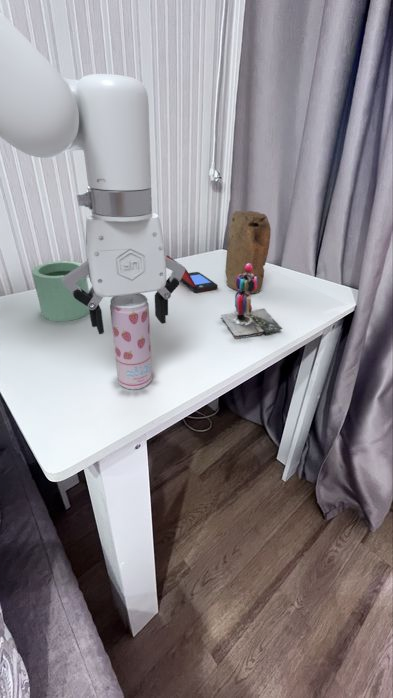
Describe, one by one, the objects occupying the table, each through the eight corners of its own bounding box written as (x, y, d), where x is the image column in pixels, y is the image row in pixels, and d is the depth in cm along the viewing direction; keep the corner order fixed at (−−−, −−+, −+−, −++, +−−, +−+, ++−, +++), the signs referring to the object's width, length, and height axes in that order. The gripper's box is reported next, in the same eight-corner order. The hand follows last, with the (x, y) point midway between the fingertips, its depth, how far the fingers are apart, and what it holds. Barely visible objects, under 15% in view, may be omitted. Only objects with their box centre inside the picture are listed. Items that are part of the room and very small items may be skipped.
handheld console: (219, 289, 91) (221, 263, 87) (183, 295, 87) (184, 268, 83) (198, 274, 101) (199, 250, 97) (165, 279, 96) (165, 254, 92)
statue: (235, 343, 70) (234, 277, 61) (220, 322, 77) (218, 260, 69) (282, 333, 72) (288, 267, 63) (263, 313, 79) (267, 252, 71)
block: (221, 283, 95) (228, 209, 85) (242, 279, 99) (251, 208, 88) (244, 297, 88) (254, 218, 77) (266, 292, 91) (278, 216, 80)
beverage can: (128, 395, 53) (120, 311, 45) (112, 377, 57) (102, 296, 49) (158, 382, 56) (156, 301, 48) (140, 366, 60) (136, 288, 52)
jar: (43, 324, 71) (32, 280, 66) (41, 304, 79) (31, 263, 74) (94, 317, 75) (88, 274, 70) (87, 298, 83) (81, 259, 78)
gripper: (48, 211, 35) (74, 347, 45) (197, 206, 42) (192, 326, 51) (45, 200, 41) (68, 322, 50) (176, 196, 47) (175, 306, 57)
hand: (131, 324), depth 51 cm, fingers open, 9 cm apart
